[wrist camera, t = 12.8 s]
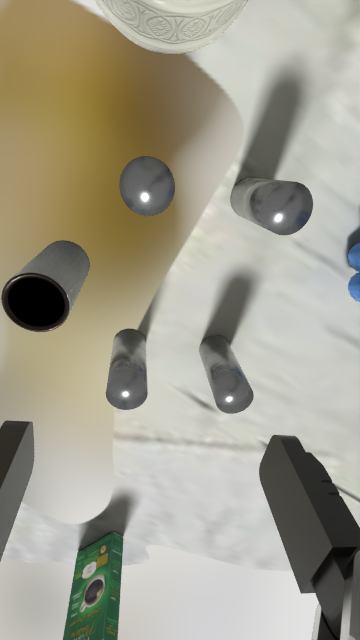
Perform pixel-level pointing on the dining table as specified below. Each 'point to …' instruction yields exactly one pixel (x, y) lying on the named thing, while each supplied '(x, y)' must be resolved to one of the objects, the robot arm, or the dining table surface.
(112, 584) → the coffee box
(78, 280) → the hollow grey tube
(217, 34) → the jar
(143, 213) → the spacer posts
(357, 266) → the grapes
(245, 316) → the dining table surface
